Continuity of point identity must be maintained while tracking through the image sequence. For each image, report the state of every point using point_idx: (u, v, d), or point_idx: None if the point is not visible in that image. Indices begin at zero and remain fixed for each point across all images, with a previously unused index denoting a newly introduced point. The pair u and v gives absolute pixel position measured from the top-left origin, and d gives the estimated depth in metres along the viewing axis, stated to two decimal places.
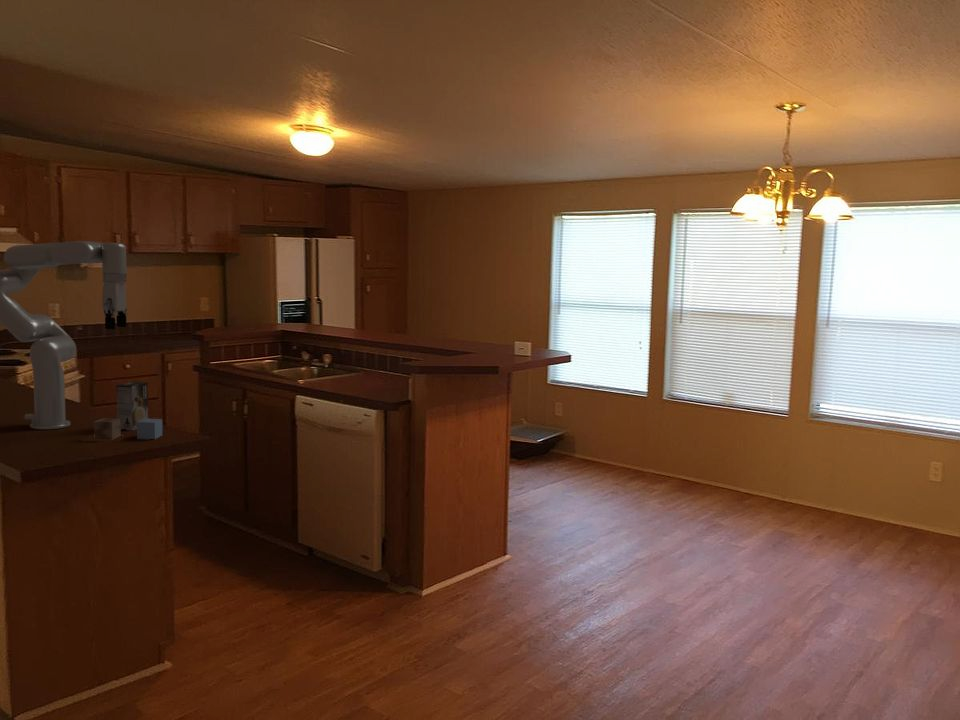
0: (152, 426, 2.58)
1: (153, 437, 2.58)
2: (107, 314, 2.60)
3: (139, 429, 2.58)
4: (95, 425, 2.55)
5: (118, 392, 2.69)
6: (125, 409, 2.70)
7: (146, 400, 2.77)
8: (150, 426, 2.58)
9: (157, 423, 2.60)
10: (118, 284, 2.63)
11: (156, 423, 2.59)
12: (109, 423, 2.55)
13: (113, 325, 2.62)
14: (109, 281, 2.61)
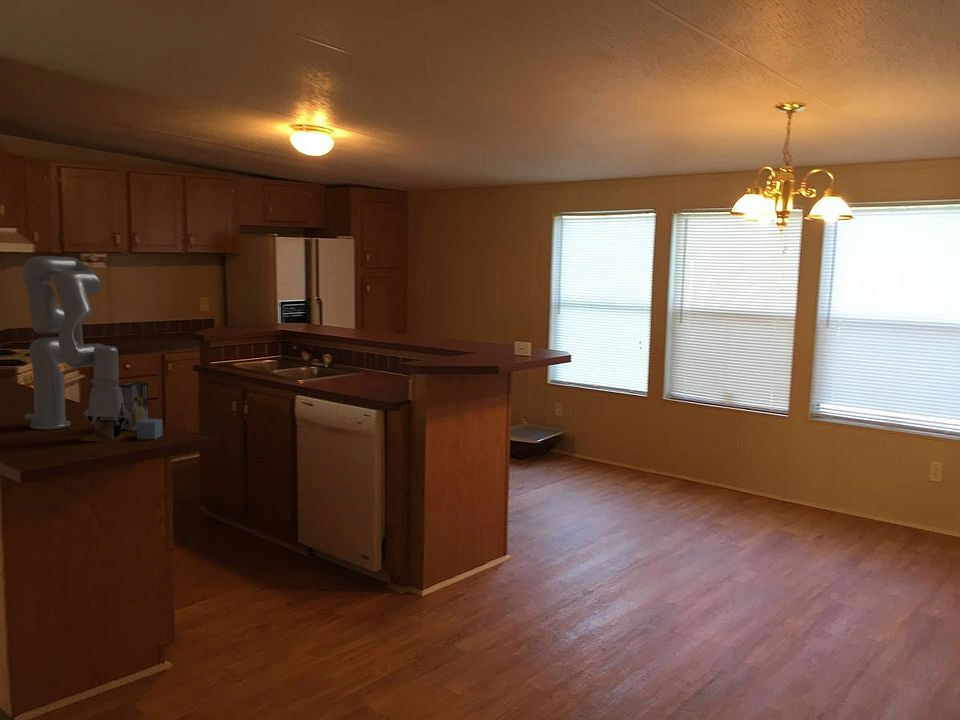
0: (152, 426, 2.58)
1: (153, 437, 2.58)
2: (123, 421, 2.57)
3: (139, 429, 2.58)
4: (95, 425, 2.55)
5: None
6: None
7: (146, 400, 2.77)
8: (150, 426, 2.58)
9: (157, 423, 2.60)
10: None
11: (156, 423, 2.59)
12: (109, 423, 2.55)
13: None
14: (117, 386, 2.56)
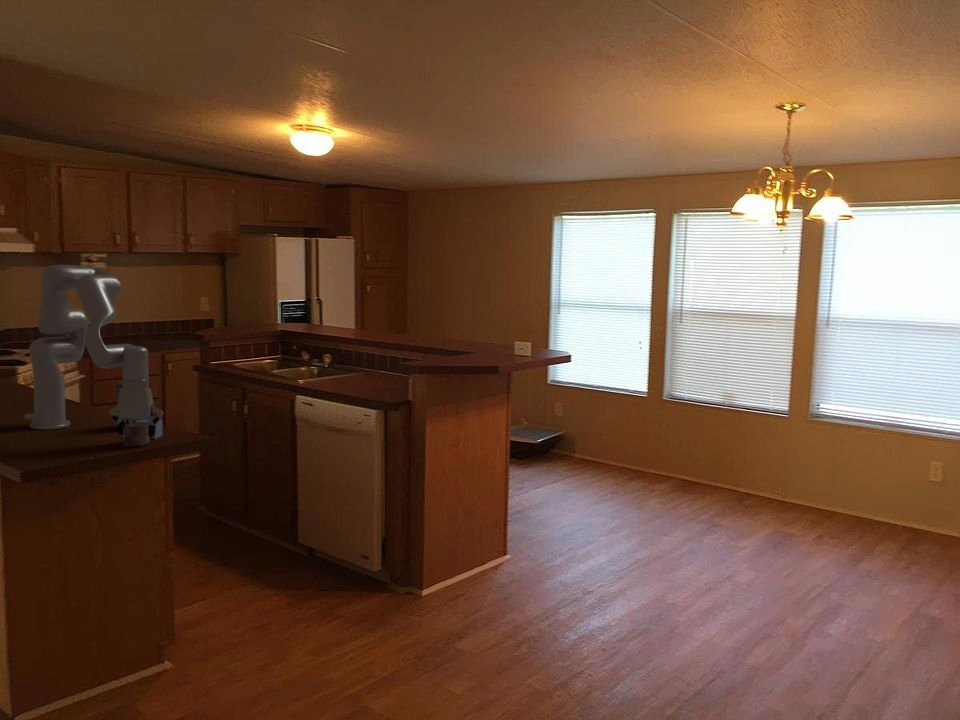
0: None
1: (153, 437, 2.58)
2: (157, 421, 2.50)
3: None
4: (124, 432, 2.48)
5: (117, 392, 2.69)
6: None
7: None
8: None
9: (157, 423, 2.60)
10: None
11: (156, 423, 2.59)
12: (139, 430, 2.48)
13: None
14: (146, 387, 2.49)
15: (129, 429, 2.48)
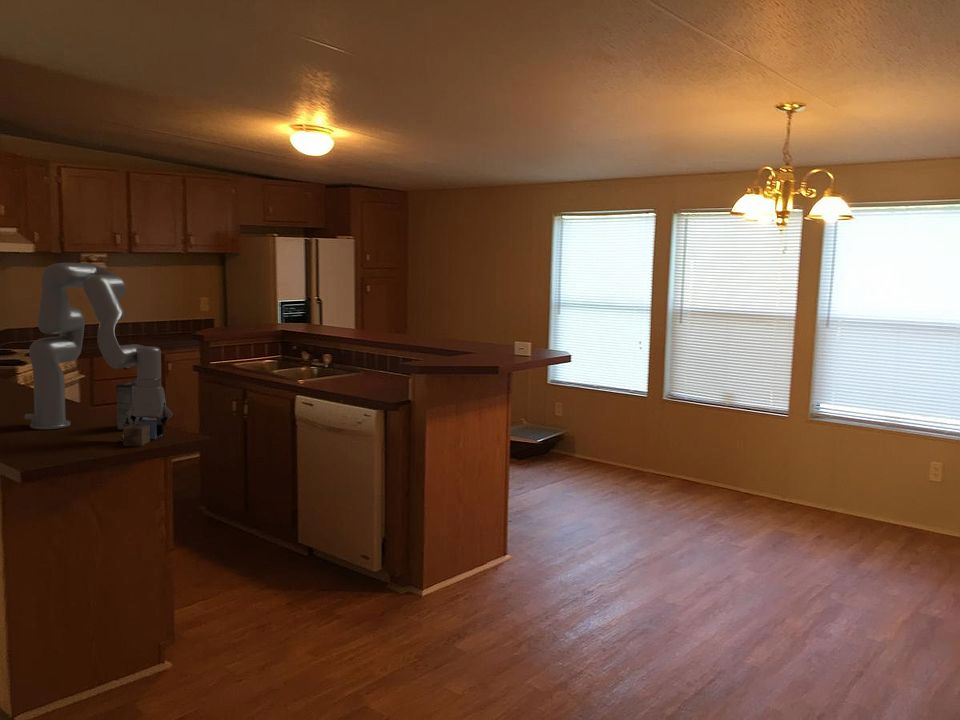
0: (152, 426, 2.58)
1: (153, 437, 2.58)
2: (165, 420, 2.61)
3: None
4: (124, 432, 2.48)
5: (118, 392, 2.69)
6: (125, 409, 2.70)
7: None
8: (150, 426, 2.58)
9: (157, 423, 2.60)
10: None
11: (156, 423, 2.59)
12: (139, 430, 2.48)
13: None
14: (159, 386, 2.59)
15: (129, 429, 2.48)
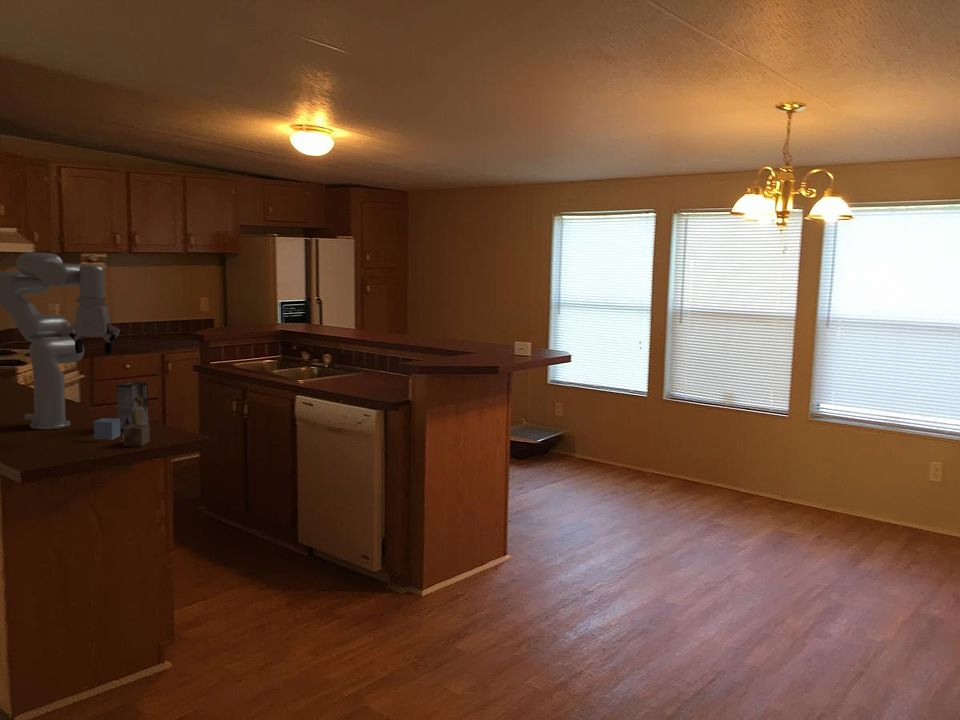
0: (109, 426, 2.55)
1: (110, 437, 2.55)
2: (114, 339, 2.56)
3: (96, 428, 2.55)
4: (124, 432, 2.48)
5: (118, 392, 2.69)
6: (125, 409, 2.70)
7: (146, 400, 2.77)
8: (107, 426, 2.55)
9: (114, 423, 2.57)
10: None
11: (113, 423, 2.56)
12: (139, 430, 2.48)
13: None
14: (103, 305, 2.54)
15: (129, 429, 2.48)
